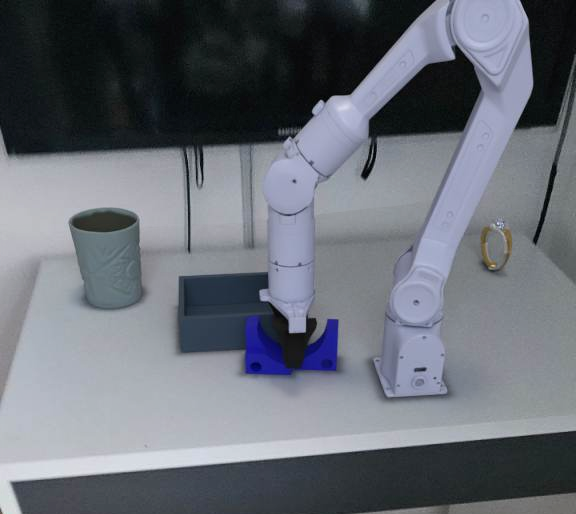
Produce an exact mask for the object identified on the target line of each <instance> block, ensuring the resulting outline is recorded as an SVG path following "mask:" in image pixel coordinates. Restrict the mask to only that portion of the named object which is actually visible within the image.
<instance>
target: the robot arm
mask: <svg viewBox="0 0 576 514" xmlns="http://www.w3.org/2000/svg"><path fill="white" fill-rule="evenodd" d="M456 46H457V47H458V48H459V50H460V51H461V52H462V53H463V54H464V56H465V57H466V58H467V59H468V60H469V61H470V62H471V63H472V65H473V66H474V68H473V69H474V72H475V75H476V76H477V79H478V81H479V85H480V87H481V90H480V92H479V94H478V97H477V99H476V101H475V103H474V106H473V108H472V110H471V112H470V115H469V117H468V120H467V122H466V124H465V127H464V129H463V131H462V133H461V136H460V138H459V140H458V142H457V145H456V147H455V150H454V152H453V154H452V156H451V158H450V161H449V163H448V165H447V168H446V170H445V173H444V174H443V177H442V179H441V182H440V184H439V186H438V189H437V190H436V192H435V194H434V198H433V200H432V202H431V204H430V206H429V209H428V211H427V213H426V216H425V218H424V220H423V223H422V225H421V227H420V228H419V229H418V231H417V232H416V233H415V235H414V237H413V239H412V241H411V243H410V245H409V246H408V247H407V248H406V249H405V250H404V251H402V252H401V253H400V254H399V255H398V257H396V260H395V262H394V264H393V270H392V271H393V272H392V275H393V279H392V280H393V281H392V287H391V291H390V294H389V301H388V302H387V304H386V305H385V312H384V326H383V337H382V347H381V348H382V350H381V356H375V357H373V358H372V362H373V365H374V369H375V372H376V373H377V376H378V379H379V382H380V384H381V388H382V390H383V393H384V396H385V397H386V398H402V397H403V398H404V397H419V396H435V395H437V396H438V395H446V394H447V393H448V388H447V386H446V384H445V382H444V379H443V373H444V367H445V361H446V351H447V350H446V346H445V343H444V340H443V338H442V329H443V322H444V315H445V307H444V301H445V300H444V289H445V285H446V283H447V281H448V279H449V276H450V273H451V269H452V266H453V262H454V259H455V255H456V252H457V249H458V248H459V245H460V243H461V242H462V239H463V237H464V234H465V232H466V230H467V228H468V226H469V224H470V222H471V220H472V218H473V216H474V213H475V212H476V210H477V208H478V205H479V203H480V201H481V200H482V197H483V195H484V193H485V191H486V190H487V187H488V185H489V182H490V181H491V178H492V176H493V175H494V173H495V170H496V168H497V166H498V164H499V162H500V160H501V158H502V156H503V153H504V151H505V149H506V148H507V145H508V143H509V141H510V139H511V137H512V134H513V133H514V130H515V128H516V127H517V124H518V122H519V120H520V118H521V116H522V114H523V112H524V109H525V108H526V106H527V104H528V101H529V99H530V97H531V95H532V92H533V87H534V75H533V63H532V53H531V41H530V22H529V18H528V16H527V14H526V11H525V10H524V7H523V4H522V2H521V0H435V1H434V2H432V4H431V5H429V6H428V7H427V8H426V9H425V10H424V11H423V12H422V13H421V14H420V15H419V16H418V17H417V18H416V19H415V20H414V21H413V22H412V23H411V24H410V25H409V27H408V28H407V29H406V30H405V31H404V33H403V34H402V35H401V36H400V37H399V38H398V39H397V40H396V42H395V43H394V44H393V45H392V46H391V48H390V49H388V51H387V52H386V53H385V54H384V56H383V57H382V58H381V59H380V60H379V61H378V62H377V64H376V65H375V66H374V67H373V69H371V70H370V71H369V73H368V74H367V75H366V76H365V78H363V80H362V81H361V82H360V83H359V85H358V86H357V87H356V88H355V89H354V90H353V91H352V92H351V94H348V95H346V94H345V95H332V96H331V97H329V99H328V100H327V101H326V102H325V101H324V100H322V99H320V100H319V101H318V102H317V103H316V104H315V105H314V106H313V108H312V110H311V113H312V115H313V116H312V117H311V118H310V119H309V121H308V122H307V123H306V124H305V125H304V126H303V127H302V129H300V131H299V132H297V134H296V135H295V136H294V138H292V136H288V138H287V139H286V140H285V141H284V142H283V144H282V148H283V150H281V151H279V152H278V153H277V154H276V155H275V157H274V158H273V159H272V162H271V163H270V165H269V167H268V169H267V170H266V172H265V174H264V177H263V180H262V195H263V197H264V200H265V202H266V203H267V220H266V227H267V228H266V230H267V231H266V232H267V272H268V283H269V288H268V289H262V290H260V291H259V296H260V300H261V301H268V303H269V305H270V307H271V308H272V311H273V313H274V316H275V317H271V322H272V327H273V329H274V331H275V333H276V334H277V336H278V338H279V341H280V344H281V348H282V354H283V359H284V363H285V366H286V368H300V367H301V366H302V364H303V360H304V356H305V352H306V348H307V345H309V342H310V339H311V337H312V336H313V334H314V333H315V331H316V329H317V327H318V321H317V318H316V317H308V318H306V316H307V314H308V315H309V312H310V310H311V308H312V306H313V304H314V302H315V299H316V289H315V263H316V260H315V259H316V255H315V254H316V253H315V252H316V218H315V193H316V189H317V188H318V185H319V184H321V183H324V182H327V181H328V180H329V179H330V178H331V177H332V176H333V175H334V174H335V173H336V172H337V171H338V170H339V169H340V168H341V167H342V166H343V165H344V164H345V163H346V162H347V161H348V160H349V159H350V158H351V157H352V156H353V155H354V154H355V153H356V152H357V151H358V150H359V149H360V148H361V147H362V145H363V144H364V143H366V142H367V140H368V139H369V132H370V130H369V129H370V120H371V119H372V118H373V117H374V116H375V115H376V114H377V113H378V112H379V111H381V109H382V108H384V106H385V105H386V104H387V103H388V102H389V101H390V100H391V99H392V98H393V97H394V96H395V95H396V94H398V93H399V92H400V91H401V90H402V89H403V88H404V87H405V86H406V85H407V84H408V83H409V82H410V81H411V80H412V79H413V78H414V77H415V76H417V75H418V73H420V71H421V70H422V69H423V68H424V67H426V66H428V65H429V64H435V63H436V64H437V63H441V62H443V63H444V62H449V61H453V60H456Z"/></svg>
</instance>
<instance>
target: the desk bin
mask: <svg viewBox="0 0 576 514" xmlns="http://www.w3.org/2000/svg"><path fill="white" fill-rule="evenodd" d="M268 288H269V283H268V271H260V272H256V271H255V272H237V273H217V274H214V273H213V274H198V275H197V274H196V275H179V276H178V300H177V301H178V304H177V305H178V306H177V307H178V309H177V310H178V314H177V321H178V330H179V339H180V340H179V341H180V347H181V353H196V352H197V353H198V352H216V351H234V350H235V351H236V350H246V332H245V326H246V322H247V318H248V316H258V317H259V319H260V324H261V327H262V329H263V331H264V332H265V334H266V335H267V336H268V337H269V338H270V339H271V340H272V341H274V342H275V343H277V344H279V345H281V344H280V341H279V338H278V336H277V334H276V333H275V331H274V329H273V327H272V322H271V317H275V316H274V313H273V311H272V308H271V307H270V305H269V303H268V301H261V300H260V296H259V291H260V290H262V289H268ZM306 318H309V313H308V314H307V316H306Z"/></svg>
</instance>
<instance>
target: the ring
mask: <svg viewBox="0 0 576 514" xmlns="http://www.w3.org/2000/svg"><path fill="white" fill-rule="evenodd" d="M492 231H494V232H495V233H496V234H497V235H498V236H499V238H500V240H501V243H502V254H501V258H500V260H499V261H498V263H497V264H496V262H493V261H492V260H491V258H490V254H489V246H488V245H489V238H490V234H491V233H492ZM512 248H513V237H512V233H511V230H510V224H509V223H508V222H506V220H505V219H503V220H502V218H500V219H495V218H492V223H490V224H489V225H487V226H485V227H484V228H483V229H482V231H481V234H480V249H481V255H482V259H483V261H484V263H485V265H486V267H487V269H488V271H497V270H501V269H502V268H504V267H505V265H507V262H508V261H509V259H510V256H511V253H512Z"/></svg>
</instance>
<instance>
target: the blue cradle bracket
mask: <svg viewBox="0 0 576 514" xmlns="http://www.w3.org/2000/svg"><path fill="white" fill-rule="evenodd" d="M339 320H340V318H339V319H338V318H326V325H325V328H324V330H323V332H322V333H321V335H320V336H319V337H318V338H317V339H316V340H315V341H314V342H312V343H309V344H308V345H307V348H306V352H305V356H304V360H303V364H302V366H301V367H300V368H286V366H285V363H284V359H283V354H282V348H281V345H279V344H277V343H275V342H274V341H272V340H271V339H270V338H269V337H268V336H267V335H266V334H265V332H264V331H263V329H262V327H261V324H260V319H259V317H258V316H248V318H247V322H246V326H245V332H246V349H245V351H244V362H245V363H244V365H245V374H247V375H249V374H251V375H275V376H292V371H293V370H301V371H325V372H326V371H327V372H328V371H330V372H336V371H337V368H338V367H337V365H338V364H337V363H338V346H339V345H338V344H339V323H340V321H339Z"/></svg>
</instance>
